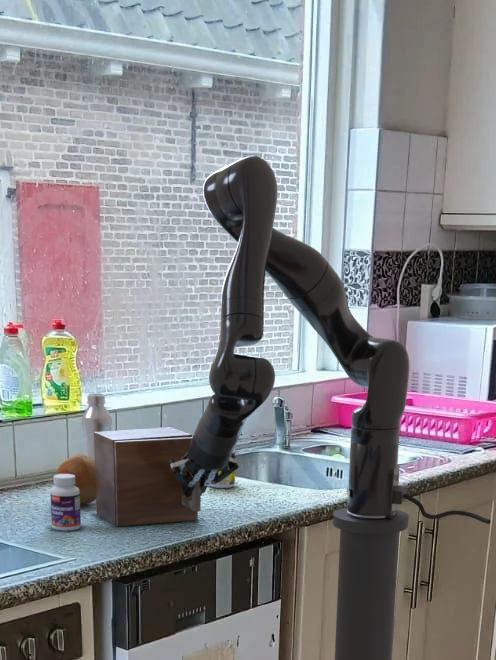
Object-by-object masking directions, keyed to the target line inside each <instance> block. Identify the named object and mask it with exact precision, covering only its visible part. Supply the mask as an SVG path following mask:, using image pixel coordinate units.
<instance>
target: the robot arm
mask: <svg viewBox="0 0 496 660" xmlns="http://www.w3.org/2000/svg"><path fill="white" fill-rule="evenodd" d="M202 195H203V199H204V203H205V205H206V207H207V209H208V211H209V213H210V214H211V216H212V217H213V219H214V220H215V221H216V222H217V224H218V225H220V227H221V228H222V229H223V230H224V231H225V232H226V233H227V234H228V235H229V236H230V237H231V238H232V239H233V240H234V241H236V242H237V246H236V249H235V252H234V254H233V257H232V259H231V262H230V264H229V267H228V269H227V272H226V273H225V274H226V275H225V277H224V280H223V283H222V284H223V285H222V288H221V294H220V295H221V296H220V330H219V337H218V342H217V346H216V351H215V354H214V357H213V360H212V363H211V365H210V370H209V375H208V383H209V387H210V389H211V391H212V394H211V396H210V397H209V400H208V402H207V405H206V407H205V409H204V412H203V414H202V415H201V417H200V418H199V421H198V423H197V425H196V428H195V430H194V433H193V434H192V440H191V442H190V445H189V450H188V453H187V454H186V455H184V457H183V460H180V461H178V462H176V460H175V459H172V460H170V461H169V464H170V467H171V471H172V474H173V475H174V477H175V479H176V480H177V482H178V483H179V485H180V486H182V490H183V494H184V495H185V496H186V497H190V496H191V493H192V491H193V489H194V485H195V483H196V481H199V479H200V477H201V496H202V495H203V494H204V493H205V492H206V491H207V489H208V487H209V486H210V484H211V482H214V483H219V482H220V481H222V480H223V479H224V478H226V477H227V476H228V475H230V474H231V473H232V472H234V471H235V472H236V470H238V469H239V467H240V466H239V464H238V460H237V456H236V454H235V455H232V453H233V451H234V449H236V446H237V444H238V442H239V439H240V436H241V432H242V430H243V428H244V425H245V424H246V421H247V419H248V418H249V417H250V416H251V415H252V414H253V413H255V412H256V410H258V409H259V408H260V407H261V406H262V405H263V404H264V403H265V402H266V400H268V398H269V396H270V395H271V393H272V391H273V389H274V386H275V381H276V372H275V369H274V366H273V364H272V363H271V361H269V360H268V359H267V358H264V357H261V356H254V355H247V354H239V353H235V348H240V347H249V346H253V345H256V344H258V343H260V342H261V341H262V339H263V336H264V331H265V330H264V329H265V325H264V323H265V282H266V281H265V280H266V274H267V275H268V276H269V277H270V278H271V280H273V282H274V283H275V284H276V285H277V286H278V288H279V289H280V290H281V292H282V293H283V295H284V296H285V297H286V298H287V299H288V301H290V303H291V304H292V305H293V307H294V308H295V309H296V310H297V312H299V314H300V315H301V316H302V317H303V318H304V319H305V320H306V321H307V322H308V323H309V325H310V326H311V327H312V329H314V331H315V332H316V333H317V334H318V335H319V336H320V338H322V340H323V342H325V344H326V345H327V346H328V348H329V350H330V351H331V352H332V354H333V355H334V357H335V358H336V360H337V361H338V363H339V365H340V366H341V368H342V369H343V371H344V372H345V374H346V375H347V377H348V378H349V379H350V380H351V381H352V382H353V383H354V384H356V385H357V386H359V387H362V388H365V389H367V391H366V393H367V394H366V400H365V402H364V404H363V405H362V406H360V407H357V408H355V409H354V410H353V411H352V413H351V424H350V425H351V428H350V445H349V447H350V448H349V450H350V451H349V468H348V469H349V470H348V486H347V487H346V493H345V494H346V496H347V503H346V504H347V505H346V506H347V507H348V509H347V515H348V516H351V517H354V518H358V519H366V520H383V519H387V520H391V519H392V518H393V517H394V516H395V515H396V514H397V510H398V505H403V503H404V502H405V501H406V500H407V501H409V502H411V503H413V504H414V505H416V506H417V507H418V509H419V511H420V514H421V515H422V516H423V517H424V518H426V519H427V520H428V519H429V520H437V519H438V520H439V519H442V518H445V517H448V516H453V515H454V516H456V515H457V516H464V517H469V518H472V519H474V520H477V521H478V522H481V523H484V524H487V525H490V524H491V519H489V518H486V517H483V516H481V515H479V514H476V513H473V512H470V511H465V510H448V511H444V512H441V513H438V514H431V513H428V512H426V510H425V508H424V504H423V503H421V501H419V500H418V499H416V498H414V497H413V496H411V495H409V494H408V486H405V485H399V484H400V483H399V482H400V469H401V468H400V465H399V464H398V461H399V447H400V446H399V445H400V430H401V427H400V426H401V419H402V417H403V414H404V412H405V409H406V405H407V395H408V389H409V387H408V386H409V376H410V357H409V354H408V351H407V348H406V346H405V345H404V344H403V343H401V342H400V341H398V340H394V339H390V338H381V337H375V336H373V335H371V334H370V333H369V332H368V331H367V330H366V329H364V327H363V326H362V324H360V323H359V322H358V320H357V319H356V317H355V316H354V315H353V314H352V312H351V310H350V306H349V303H348V296H347V292H346V287H345V285H344V282H343V281H342V279H341V277H340V276H339V274H338V273H337V272H336V270H335V269H334V268H333V267H332V265H331V264H330V263H329V261H328V260H327V259H326V258H325V256H324V255H322V253H321V252H320V251H319V250H317V249H315V248H314V247H312V246H311V245H309V244H307V243H305V242H303V241H301V240H299V239H297V238H294V237H292V236H290V235H289V234H286V233H283V232H281V231H280V230H278V229H277V228H275V227H274V222H275V217H276V211H277V203H278V183H277V179H276V175H275V173H274V170H273V168H272V167H271V165H270V163H268V161H266V159H264V158H262V157H261V156H259V155H250V156H246V157H243V158H240V159H238V160H236V161H234V162H232V163H230V164H228V165H226V166H224V167H222V168H220V169H218V170H216V171H214V172H212V173H211V174H210V175H208V176H207V178H205V181H204V183H203V186H202ZM185 466H186V467H187V471H186V473H185V474H183V472H182V471H183V468H184V467H185ZM220 470H221V474H220V475H219V474H218V472H219V471H220Z"/></svg>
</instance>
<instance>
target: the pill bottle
mask: <svg viewBox="0 0 496 660" xmlns="http://www.w3.org/2000/svg"><path fill="white" fill-rule="evenodd" d="M52 478H53V485H54V486H53V487H51V489H50V490H49V491H50V515H51V517H50V519H51V528H52V529H54V530H56V531H62V532H63V531H64V532H65V531H66V532H67V531H77V530H78V529H80V528H81V526H82V525H81V524H82V522H81V519H82V518H81V516H82V515H81V506H80V491H79V489H78V488H77V487H75V486H74V484H75V475H72V474H57V475H55V474H54V475H53V477H52Z"/></svg>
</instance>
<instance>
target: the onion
mask: <svg viewBox="0 0 496 660" xmlns="http://www.w3.org/2000/svg"><path fill="white" fill-rule="evenodd" d="M57 474H72V475H75V484H74V486H75V487H77V488H78V489H79V491H80V507H82V506H86V505H89V504H91V503H93V502H94V501H96V481H95V461H94V460H92V459H91V458H89V457H87V456H85V454H83V453H81V454H79V453H78V454H73V455H72V456H70V457H68V458H66V459H65V460H64V461H63V462H61V464H60V465H59V467H58V468H57V470H56V471H55V473H54V475H57Z"/></svg>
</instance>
